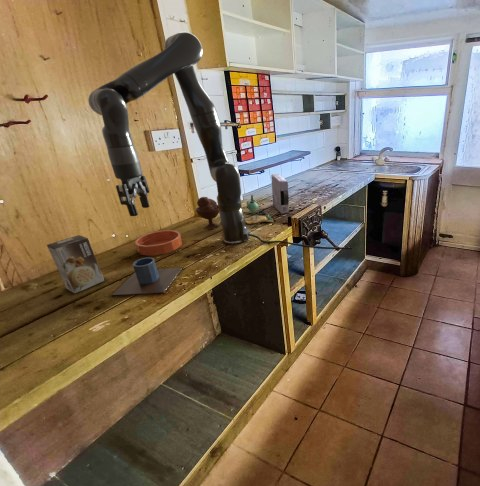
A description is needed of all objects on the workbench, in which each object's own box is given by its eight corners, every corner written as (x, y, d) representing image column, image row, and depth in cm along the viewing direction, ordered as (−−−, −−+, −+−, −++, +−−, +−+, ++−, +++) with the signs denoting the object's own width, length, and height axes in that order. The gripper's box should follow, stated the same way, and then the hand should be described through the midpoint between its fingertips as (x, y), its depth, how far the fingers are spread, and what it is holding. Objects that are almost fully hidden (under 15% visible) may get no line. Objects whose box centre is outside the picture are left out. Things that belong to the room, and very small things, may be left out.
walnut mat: (182, 268, 112) (182, 267, 112) (164, 293, 98) (164, 292, 98) (137, 271, 112) (137, 269, 111) (112, 296, 97) (111, 294, 97)
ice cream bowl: (216, 231, 145) (210, 200, 139) (195, 230, 147) (188, 199, 141) (227, 223, 154) (222, 193, 148) (207, 222, 156) (201, 193, 150)
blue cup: (162, 275, 107) (157, 257, 105) (154, 284, 102) (149, 265, 99) (144, 276, 107) (138, 258, 104) (135, 285, 102) (129, 266, 99)
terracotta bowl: (187, 238, 138) (185, 229, 136) (173, 255, 123) (170, 245, 121) (149, 240, 137) (146, 231, 135) (130, 257, 122) (127, 247, 120)
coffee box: (96, 276, 109) (79, 234, 102) (105, 281, 106) (89, 237, 99) (65, 288, 102) (46, 244, 95) (74, 294, 99) (54, 248, 92)
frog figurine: (266, 227, 148) (260, 197, 142) (236, 226, 155) (229, 197, 150) (277, 220, 156) (271, 191, 150) (248, 220, 163) (241, 192, 157)
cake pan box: (290, 213, 166) (288, 180, 158) (281, 214, 164) (278, 181, 157) (281, 203, 182) (278, 173, 174) (272, 205, 180) (269, 174, 173)
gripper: (126, 165, 89) (142, 218, 96) (147, 156, 102) (160, 204, 109) (99, 166, 89) (117, 219, 96) (124, 158, 102) (138, 205, 109)
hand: (140, 211), depth 103 cm, fingers open, 8 cm apart
